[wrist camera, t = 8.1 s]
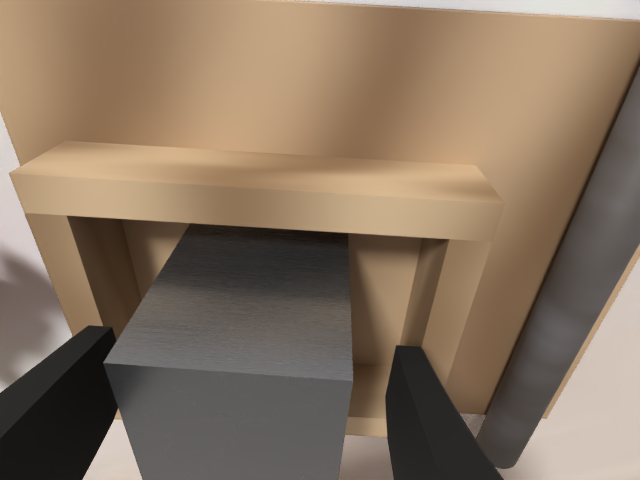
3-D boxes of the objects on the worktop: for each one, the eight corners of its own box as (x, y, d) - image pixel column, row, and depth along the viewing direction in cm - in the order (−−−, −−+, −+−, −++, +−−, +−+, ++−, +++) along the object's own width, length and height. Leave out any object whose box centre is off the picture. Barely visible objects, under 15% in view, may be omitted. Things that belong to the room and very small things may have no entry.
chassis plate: (751, -25, 9) (935, -28, 6) (526, 407, 18) (562, 488, 15) (-25, -68, 9) (-184, -91, 7) (122, 380, 18) (81, 456, 15)
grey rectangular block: (347, 226, 12) (353, 380, 7) (335, 335, 14) (333, 504, 10) (195, 214, 12) (103, 363, 7) (209, 326, 14) (146, 490, 10)
